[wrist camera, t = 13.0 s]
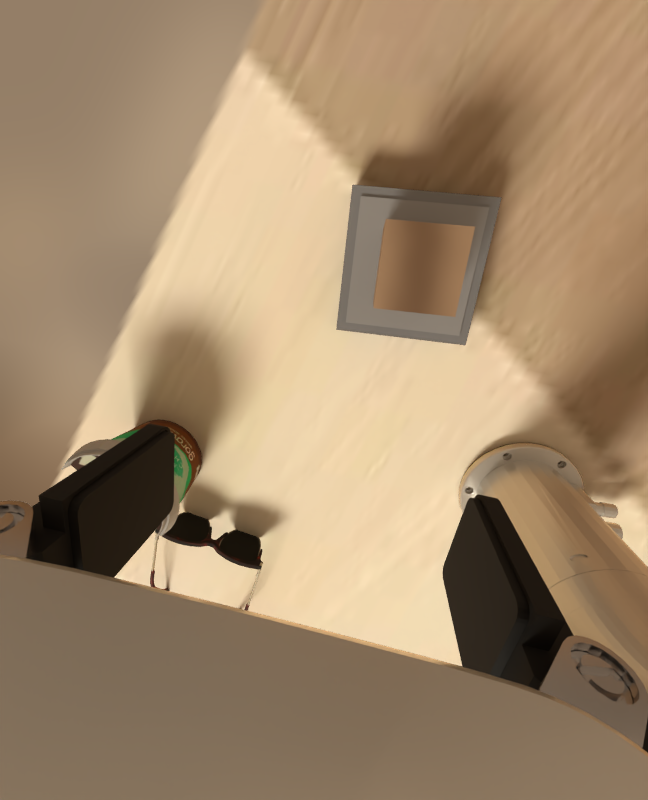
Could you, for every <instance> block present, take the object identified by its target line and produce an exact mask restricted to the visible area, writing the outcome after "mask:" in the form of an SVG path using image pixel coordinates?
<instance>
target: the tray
mask: <svg viewBox="0 0 648 800" xmlns="http://www.w3.org/2000/svg"><path fill="white" fill-rule="evenodd" d="M501 198H502V197H490V196H479V195H467V194H455V193H444V192H432V191H420V190H409V189H397V188H385V187H374V186H362V185H352V194H351V203H350V212H349V221H348V230H347V239H346V248H345V257H344V266H343V275H342V284H341V293H340V302H339V311H338V320H337V329H336V330H344V331H352V332H361V333H369V334H377V335H385V336H394V337H402V338H410V339H418V340H427V341H435V342H443V343H451V344H460V345H466V341H467V337H468V333H469V329H470V325H471V321H472V316H473V312H474V308H475V304H476V300H477V296H478V292H479V288H480V284H481V280H482V276H483V271H484V267H485V263H486V259H487V255H488V251H489V247H490V243H491V239H492V235H493V231H494V226H495V222H496V218H497V214H498V210H499V206H500V202H501ZM386 219H392V220H404V221H415V222H427V223H438V224H450V225H461V226H473V227H475V230H474V235H473V239H472V244H471V248H470V253H469V257H468V262H467V266H466V271H465V275H464V280H463V284H462V289H461V293H460V298H459V302H458V307H457V311H456V316H455V317H450V316H441V315H432V314H423V313H414V312H404V311H395V310H386V309H377V308H374V307H373V300H374V293H375V285H376V278H377V271H378V264H379V257H380V249H381V242H382V235H383V228H384V224H385V221H386Z"/></svg>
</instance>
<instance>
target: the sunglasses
mask: <svg viewBox="0 0 648 800" xmlns="http://www.w3.org/2000/svg"><path fill="white" fill-rule="evenodd" d="M155 532H156V536H155V538H156V537H157V535H158V533H159V532H160V531H159V530H158V529H156V530H155ZM211 533H212V527H210V522H209V520H208V519H205V518H202V517H199V516H196V515H193V514H191V513H188V512H183V513H181V514H179V515H178V517H177V519H176V522H175V524H174V525H173V526H172V528H171V529H170V530H169V531H167V532H166V533H165V534H164V535H162V537H164V538H166V539H168V540H170V541H173V542H175V543H178V544H182V545H187V546H195V547H202V546H210V547H213V548H214V549H215V551H216V552H217V553H218V554H219V555H221V556H222V557H223V558H225V559H227V560H229V561H230V562H233V563H235V564H238V565H241V566H244V567H248V568H253V569H258V572H257V575H256V576H257V578H256V581H255V584H254V587H253V590H252V593H251V596H250V599H249V602H248V603H247V604H246V607H245V610H246V611H247V610H248V607H249V604H250V600H251V597H252V594H253V591H254V588H255V585H256V582H257V579H258V576H259V573H260V570H261V567H262V564H263V562H262V561H261V560H260V559H261V555H262V549H261V550H260V548H261V542H260V539H259V537H256V536H253V535H250V534H247V533H244V532H241V531H239V530H237V529H236V530H233V531H231V532H229V533H227V532H226V533H225V534H223V535H222V536H221V537H220V538H218V539H217V540H213V539H211ZM158 539H159V536H158V537H157V538H156V539H155V548H154V556H153V564H152V570H151V578H150V584H151V587H154V588H157V587H155V585H154V573H155V571H154V566H155V558H156V549H157V541H158ZM158 589H160V588H158ZM162 590H166V591H169V589H167V588H166V589H162Z"/></svg>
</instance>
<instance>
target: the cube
mask: <svg viewBox="0 0 648 800" xmlns="http://www.w3.org/2000/svg"><path fill="white" fill-rule="evenodd" d="M474 230H475V227H473V226H461V225H450V224H438V223H427V222H415V221H404V220H392V219H386V221H385V224H384V228H383V235H382V242H381V249H380V257H379V264H378V271H377V278H376V285H375V293H374V300H373V307H374V308H377V309H386V310H395V311H404V312H414V313H423V314H432V315H441V316H450V317H455V316H456V311H457V307H458V302H459V298H460V293H461V289H462V284H463V280H464V275H465V271H466V266H467V262H468V257H469V253H470V248H471V244H472V239H473V235H474Z"/></svg>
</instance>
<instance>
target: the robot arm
mask: <svg viewBox="0 0 648 800" xmlns="http://www.w3.org/2000/svg"><path fill="white" fill-rule="evenodd" d="M174 453H175V436H174V434H173V433H172V432H170V429H169V428H168V427H165V426H160V425H156V424H148V425H146V426H145V427H143V428H141V429H140V430H138V431H137V432H135V433H134V434H132V435H131V436H129V437H128V438H126V439H125V440H123V441H122V442H120V443H118V444H117V445H115V446H114V447H112V448H111V449H109V450H108V451H106V452H105V453H103V454H102V455H100V456H99V457H97V458H95V459H94V460H92V461H91V462H89V463H88V464H86V465H85V466H83V467H82V468H80V469H79V470H77V471H76V472H74V473H72V474H71V475H69V476H68V477H66V478H65V479H63V480H62V481H60V482H59V483H57V484H56V485H54V486H53V487H51V488H49V489H48V490H46V491H45V492H43V493H42V494H40V495H39V501H40V502H39V503H37V504H36V505H34V506H33V507H31V506H30V505H29V504H28V503H25V502H22V501H14V500H7V501H0V800H648V567H647V566H646V565H645V564H644V563H643V562H642V560H641V559H640V558H639V557H638V556H637V555H636V554H635V553H634V552H633V551H632V550H631V549H630V548H629V547H628V545H627V544H626V543H625V542H624V541H623V540H622V537H623V532H622V529H621V527H620V526H619V525H618V524H616V523H611V522H605V521H604V520H603V519H602V518H601V517H600V516H602V517H609V518H616V516H617V515H618V509H617V507H616V506H615V505H613V504H608V503H602V502H599V503H597V502H593V501H592V499H591V498H590V497H589V496H588V495H587V494H586V493H585V492H584V485H583V481H582V477H581V475H580V473H579V472H578V470H577V468H576V467H575V466H574V465H573V464H572V463H571V462H570V461H569V460H568V459H567V458H566V457H565V456H564V455H562V454H561V453H559V452H558V451H556V450H554V449H552V448H549V447H546V446H543V445H539V444H532V443H516V444H511V445H505V446H502V447H499V448H496V449H494V450H492V451H490V452H488V453H486V454H484V455H483V456H481V457H480V458H479V459H478V460H476V461H475V462H474V463H473V464H472V465H471V466H470V467H469V469H468V470H467V471H466V473H465V475H464V476H463V478H462V481H461V484H460V487H459V504H460V507H461V510H462V513H463V515H462V517H461V520H460V523H459V525H458V528H457V531H456V533H455V536H454V539H453V542H452V544H451V547H450V550H449V552H448V555H447V558H446V561H445V563H444V566H443V580H444V585H445V589H446V594H447V598H448V603H449V607H450V612H451V616H452V621H453V625H454V630H455V634H456V639H457V643H458V648H459V652H460V657H461V661H462V666H463V667H462V666H458V665H454V664H450V663H447V662H443V661H439V660H436V659H432V658H428V657H425V656H421V655H417V654H414V653H410V652H406V651H402V650H398V649H394V648H390V647H387V646H383V645H379V644H375V643H371V642H367V641H363V640H360V639H356V638H352V637H348V636H344V635H340V634H336V633H333V632H329V631H325V630H321V629H317V628H313V627H309V626H305V625H301V624H297V623H293V622H289V621H286V620H282V619H278V618H274V617H270V616H266V615H262V614H258V613H254V612H250V611H246V610H242V609H238V608H234V607H230V606H226V605H222V604H218V603H214V602H210V601H206V600H202V599H198V598H194V597H190V596H186V595H182V594H178V593H174V592H170V591H166V590H162V589H158V588H154V587H149V586H145V585H141V584H137V583H133V582H129V581H125V580H121V579H117V578H114V577H115V576H116V575H117V573H118V572H119V571H120V570H121V569H122V568H123V566H124V565H125V564H126V563H127V562H128V561H129V560H130V558H131V557H132V556H133V555H134V554H135V553H136V551H137V550H138V549H139V548H140V547H141V546H142V545H143V543H144V542H145V541H146V540H147V539H148V538H149V536H150V535H151V534H152V533H153V532H154V531H155V530H156V528H157V527H158V526H159V525H160V524H161V523H162V522H163V520H164V519H165V518H166V517H167V516H168V515H169V513H170V512H171V510H172V507H173V504H174ZM505 453H506V454H505Z"/></svg>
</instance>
